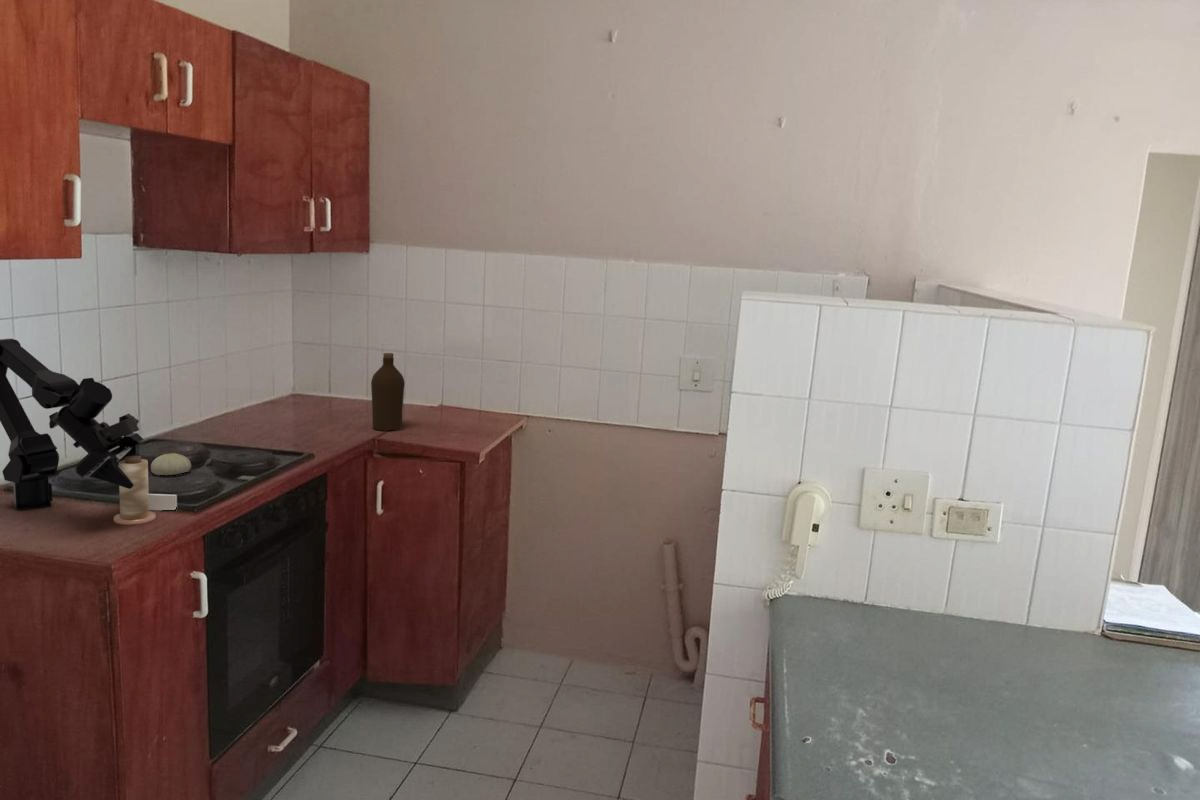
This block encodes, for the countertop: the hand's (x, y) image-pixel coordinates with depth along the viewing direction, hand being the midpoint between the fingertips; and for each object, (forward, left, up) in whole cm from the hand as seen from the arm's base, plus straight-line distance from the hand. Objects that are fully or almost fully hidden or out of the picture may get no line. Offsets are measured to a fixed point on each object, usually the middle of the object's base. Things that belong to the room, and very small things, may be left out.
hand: (140, 482), depth 187 cm
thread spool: (-1, +1, -7) cm, 8 cm away
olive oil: (+88, +60, -8) cm, 107 cm away
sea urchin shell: (+15, +35, -8) cm, 39 cm away
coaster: (-1, +1, -8) cm, 8 cm away
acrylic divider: (+4, +6, -8) cm, 11 cm away
